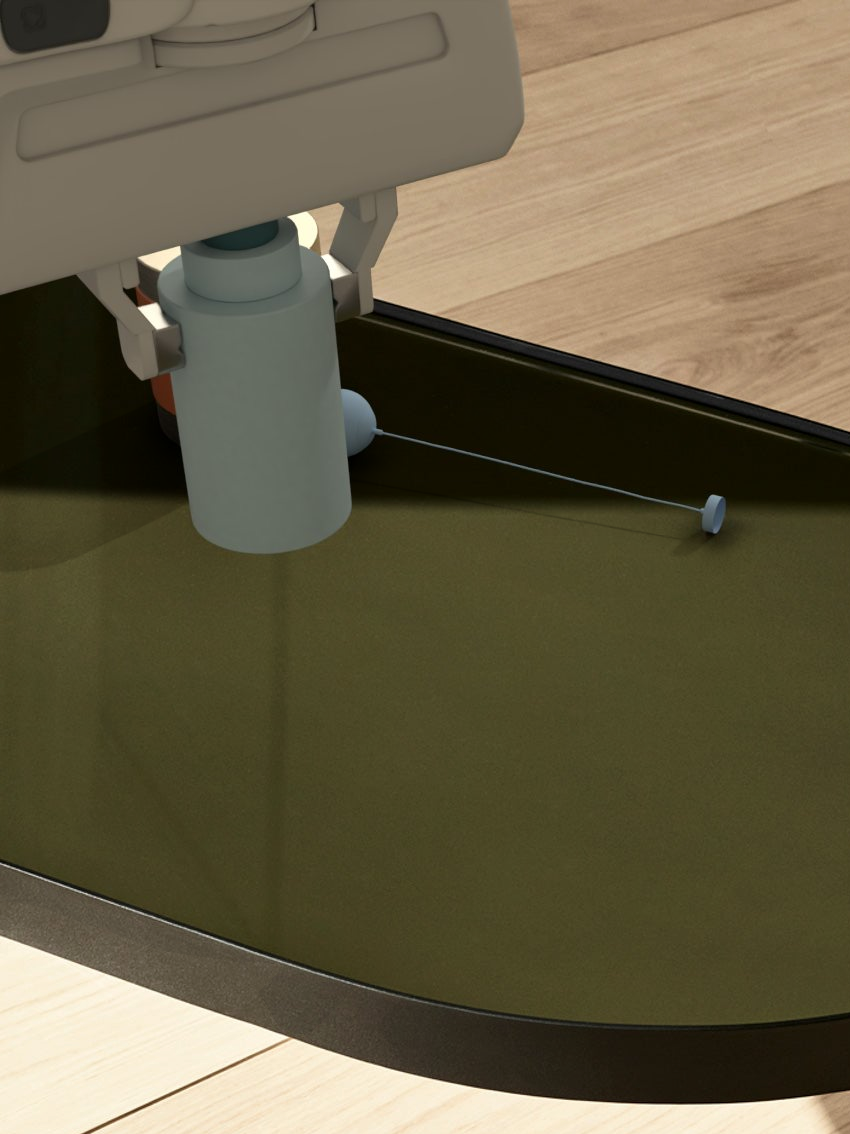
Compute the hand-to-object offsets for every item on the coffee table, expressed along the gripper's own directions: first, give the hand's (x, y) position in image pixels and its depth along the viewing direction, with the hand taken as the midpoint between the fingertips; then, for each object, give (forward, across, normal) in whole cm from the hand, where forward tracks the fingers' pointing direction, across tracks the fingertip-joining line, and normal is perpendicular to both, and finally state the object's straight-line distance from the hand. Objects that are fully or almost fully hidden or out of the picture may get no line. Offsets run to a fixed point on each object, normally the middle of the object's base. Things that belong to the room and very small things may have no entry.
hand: (249, 340), depth 77 cm
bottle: (+7, 0, 0) cm, 7 cm away
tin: (+18, -10, -26) cm, 33 cm away
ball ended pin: (+18, -17, -13) cm, 28 cm away
